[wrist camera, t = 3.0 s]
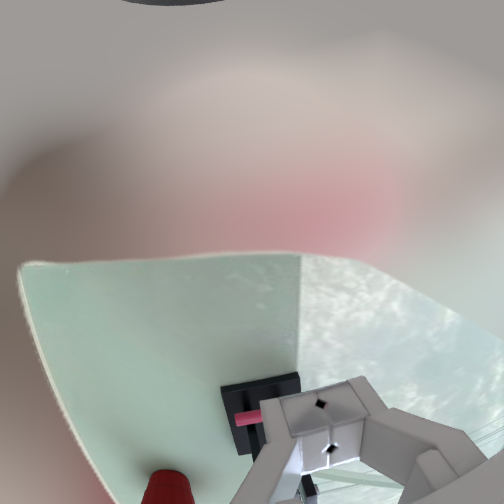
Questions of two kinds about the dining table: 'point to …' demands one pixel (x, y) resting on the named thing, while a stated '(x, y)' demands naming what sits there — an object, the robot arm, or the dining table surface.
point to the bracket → (253, 434)
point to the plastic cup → (168, 489)
